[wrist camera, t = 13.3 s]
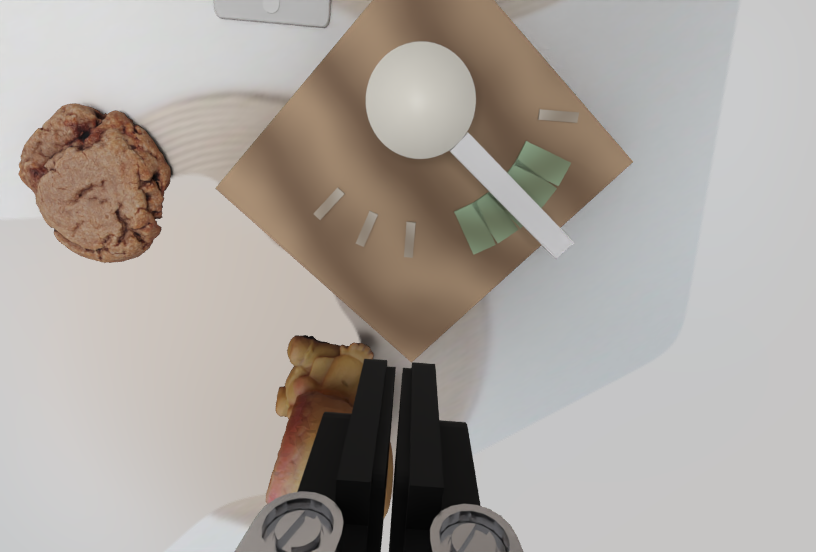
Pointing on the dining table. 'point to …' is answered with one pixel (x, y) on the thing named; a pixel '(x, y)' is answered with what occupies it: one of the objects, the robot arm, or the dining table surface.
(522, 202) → the peg dial
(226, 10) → the smartphone
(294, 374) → the figurine
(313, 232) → the tuner board
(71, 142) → the cookie
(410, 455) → the robot arm
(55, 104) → the dining table surface
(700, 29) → the dining table surface
